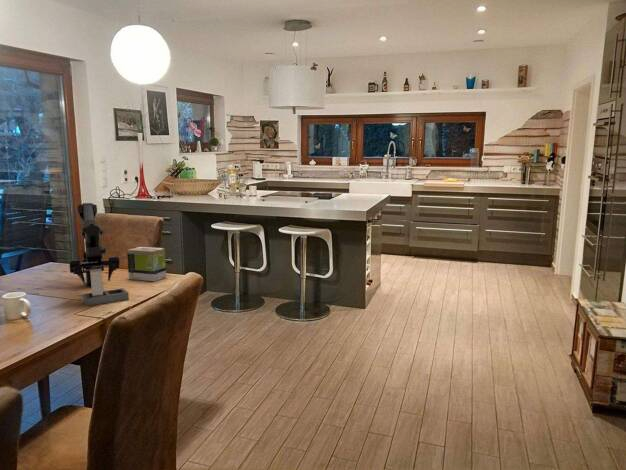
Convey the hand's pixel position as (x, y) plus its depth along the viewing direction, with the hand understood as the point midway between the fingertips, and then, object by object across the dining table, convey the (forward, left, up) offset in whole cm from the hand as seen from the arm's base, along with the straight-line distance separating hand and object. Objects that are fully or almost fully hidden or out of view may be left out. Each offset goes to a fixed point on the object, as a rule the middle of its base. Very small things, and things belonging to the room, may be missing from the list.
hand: (96, 281), depth 195 cm
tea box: (-27, +29, -9) cm, 41 cm away
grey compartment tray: (0, +3, -8) cm, 9 cm away
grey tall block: (0, 0, -8) cm, 8 cm away
